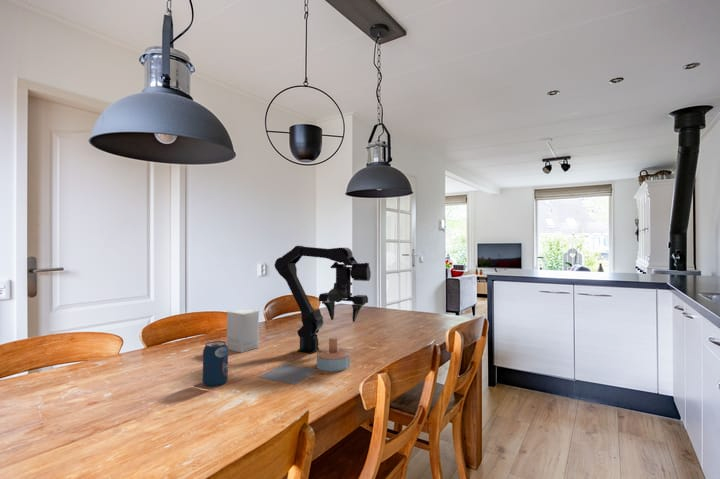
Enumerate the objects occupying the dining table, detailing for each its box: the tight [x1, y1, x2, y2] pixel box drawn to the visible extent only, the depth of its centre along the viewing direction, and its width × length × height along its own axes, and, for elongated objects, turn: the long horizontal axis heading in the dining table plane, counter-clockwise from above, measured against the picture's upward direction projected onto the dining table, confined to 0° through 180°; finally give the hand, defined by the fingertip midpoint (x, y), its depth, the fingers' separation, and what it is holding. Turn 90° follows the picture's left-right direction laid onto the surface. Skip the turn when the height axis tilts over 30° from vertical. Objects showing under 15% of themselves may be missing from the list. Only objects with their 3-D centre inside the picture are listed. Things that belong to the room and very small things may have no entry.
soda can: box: [202, 340, 229, 387], centre depth 110 cm, size 7×7×12 cm
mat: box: [257, 363, 320, 385], centre depth 118 cm, size 14×14×1 cm
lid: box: [316, 337, 350, 360], centre depth 127 cm, size 11×11×6 cm
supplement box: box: [226, 308, 260, 353], centre depth 148 cm, size 9×9×15 cm
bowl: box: [316, 354, 351, 372], centre depth 127 cm, size 11×11×4 cm
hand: (342, 320), depth 142 cm, fingers open, 9 cm apart
